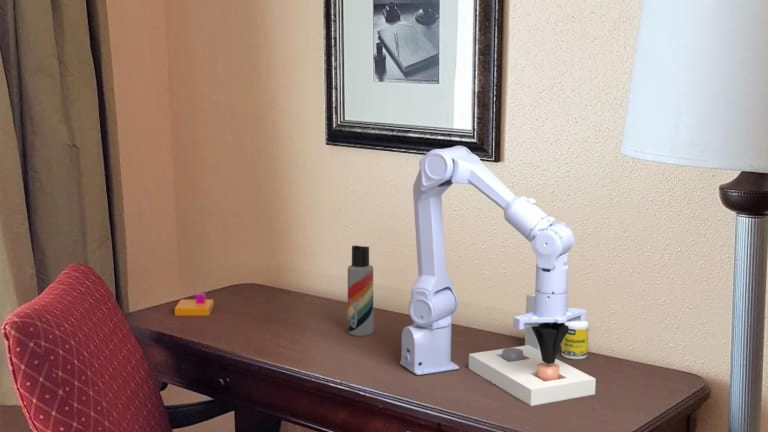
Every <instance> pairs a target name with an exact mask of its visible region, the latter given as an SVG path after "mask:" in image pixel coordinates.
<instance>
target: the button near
mask: <svg viewBox="0 0 768 432" xmlns="http://www.w3.org/2000/svg"><path fill="white" fill-rule="evenodd" d="M537 378H539V379H540V380H542V381H544V382H546V381H552V380H558V379H559V365H557V364H555V363H552V364H547V363H539V364H538V365H537Z"/></svg>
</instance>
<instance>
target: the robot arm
mask: <svg viewBox="0 0 768 432" xmlns="http://www.w3.org/2000/svg"><path fill="white" fill-rule="evenodd" d="M482 162H483V161H481V159H480V157H479V156H478V155H476V154H474V153H472V151H470V149H469V148H468V147H466V146H463V145H455V146H452V147H445V148H436V149H432V150H430V151H428V152H427V153H426V154H425V155H423V157H422V158H421V159H419V170H418V173H417V176H416V178H415V180H414V183H413V186H412V187H413V188H412V195H413V209H414V210H413V211H414V227H415V228H414V230H415V242H416V259H417V260H416V261H417V272H418V273H417V275H418V276H417V278H416V280H415V282H414V283H413V285H412V287H411V297H410V300H409V302H408V305H407V306H408V308H407V309H408V314H409V317H410V320H411V321H413V323H412V324H411V325H408V326H405V327H404V328H403V329H402V333H401V357H400V359H401V360H400V361H399V364H400V365H401V366H403V367H404V368H406V369H407V370H409V371H410V372H411V373H413V374H414V375H416V376H421V375H426V374H427V375H429V374H434V373H441V372H449V371H454V370H459V368H460V367H459V365H458V364H455V363H454V362H453V361H451V359H452V357H451V355H452V354H451V352H452V321H453V315H454V314H455V313H456V312H457V310H458V305H459V300H458V296H457V294H456V292H455V290H454V283H453V280H452V279H451V278H450V277H449V276H448V274H447V268H446V267H447V266H446V251H445V236H444V217H443V203H442V202H443V201H442V197H443V196H442V195H443V194H444V193H445V192H447V190H448V189H449V188H450V187H451V186H452V185H453V184H462V185H471V186H472V187H474V188H475V189H477V190H478V191H479V192H480V193H481V194H483V195H484V196H485V197H487V199H489V200H490V201H492V202H493V203H494V204H496V205H497V206H498V208H501V209H502V210H503V215H504V216H503V218H504V220H505V221H506V222H507V223H508V224H509V225H510V226H512V228H513V229H515V230H516V231H518V233H519V234H520V235H521V236H523V238H525V239H526V240H527V241H529V242H530V245H531V249H532V252H533V253H534V254H535V257H536V265H535V268H536V269H535V288H534V289H535V290H534V291H535V292H534V293H535V311H534V312H530V313H527V314H526V313H525V314H522V315H515V316H513V328H515V329H518V330H520V331H521V330H524V329H525V328H526V327H531V328H532V330H533V332H534V334H535V336H536V338H537V341H538V344H539V347H540V351H541V356H542V361H543V362H545V363H547V364H552V363H554V362H555V359H557V358H556V357H557V354H558V352H559V349H560V346H561V342H562V340H563V339H564V337H565V335H566V334H567V333H568V330H569V327H568V326H567V325H565V322H571V321H578V320H579V321H585V320H586V318H585V317H587V310H586V309H584V310H582V309H583V308H581V309H580V307H577V308H578V309H568V308H567V303H568V302H567V300H568V282H569V281H568V278H569V277H568V276H569V255H570V253H569V251H570V250H571V249H573V246H574V244H575V236H574V233H573V231H572V230H571V228H569V225H567V223H564V222H559V221H558V222H557V221H556V219H555V217H553V216H549V215H548V214H546V213H545V211H543V210H542V209H541V208H539V206H537V205H536V204H537V200H535V198H533V197H530V198H528V197H527V196H524V195H522V196H516V195H515V194H514V193H513V192H512V191H511V190H510V189H509V188H508V187H507V186H506V185H505V184H504V183H503V182H502V181H501V180H500V179H499V178H498V177H496V176H495V174H494V173H493V172H492V171H491V170H490V169H489V168H488V167H486V165H484V163H482ZM585 310H586V311H585Z"/></svg>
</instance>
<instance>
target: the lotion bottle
mask: <svg viewBox="0 0 768 432" xmlns="http://www.w3.org/2000/svg"><path fill="white" fill-rule="evenodd" d="M373 332H374V267H373V265H371V264H370V246H364V245H363V246H362V245H352V246H351V264H350V265H348V266H347V333H348V334H349V335H352V336H355V337H357V336H358V337H364V336H369V335H372V334H373Z"/></svg>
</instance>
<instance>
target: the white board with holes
mask: <svg viewBox="0 0 768 432" xmlns="http://www.w3.org/2000/svg"><path fill="white" fill-rule="evenodd" d="M507 348H508V347H507ZM507 348H501V349H500V348H499V349H493V350H487V351H486V350H485V351H479V352H474V353H473V352H472V353H468V369H469V370H471V371H472V372H474V373H476V374H477V375H479V376H480V377H482V378H484V379H485V380H487V381H489V382H490V381H491V382H490V383H492V384H494V385H495V384H496V385H495V386H497V387H499V388H500V389H502V390H504V391H506V392H507V393H508V394H511V395H512V396H514V397H515V398H517V399H518V400H520V401H522V402H523V403H526V404H527V405H529V406H530V407H533V406H538V405H544V404H549V403H554V402H560V401H565V400H570V399H571V400H572V399H577V398H581V397H582V398H583V397H588V396H593V395H596V383H597V382H596V378H595V377H593V376H591V375H590V374H587V373H586V372H583V371H582V370H580V369H577V368H575V367H573V366H571V365H570V364H567V363H566V362H563V361H561V360H560V359H557V358H556V359H555V362H554V363H555V364H557V365H559V379H558V380H552V381H546V382H544V381H542V380H540V379H539V378H537V365H538V364H539V363H545V362H543V361H542V356H541V351H539V350H537V349H535V348H533V347H531V346H529V345H526V346H525V345H521V346H515V347H513V346H511V348H517V349H520V350H522V351H523V360H519V361H513V362H508V361H506V360H504V359H502V356H503V350H504V349H507Z"/></svg>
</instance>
